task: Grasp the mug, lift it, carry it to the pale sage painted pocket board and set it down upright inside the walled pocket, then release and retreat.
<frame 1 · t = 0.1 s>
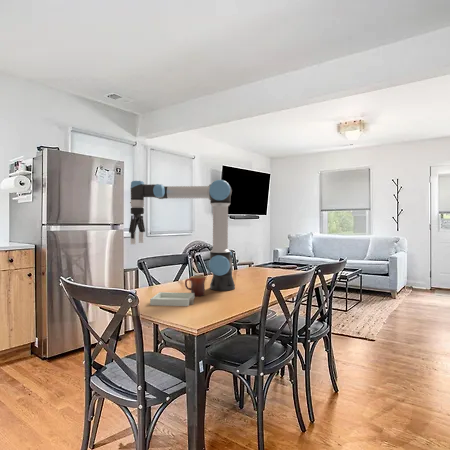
hand: (137, 243, 209), 28 cm above the table, fingers open, 13 cm apart
pocket board: (173, 301, 182), on the table
mug: (195, 295, 197), on the table
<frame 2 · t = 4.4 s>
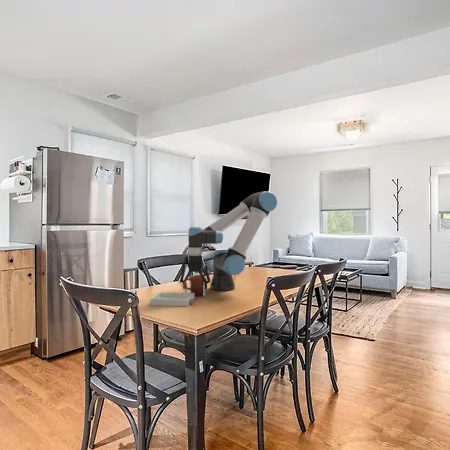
hand: (195, 295, 197), 0 cm above the table, fingers closed on mug, 9 cm apart
mug: (194, 295, 197), on the table, touching gripper
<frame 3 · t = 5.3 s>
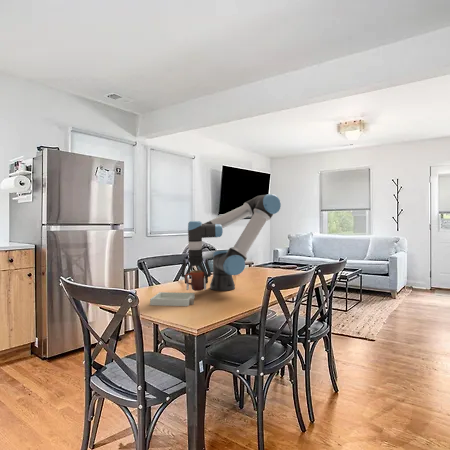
hand: (196, 289, 198), 3 cm above the table, fingers closed on mug, 9 cm apart
mug: (195, 290, 198), point 3 cm above the table, touching gripper
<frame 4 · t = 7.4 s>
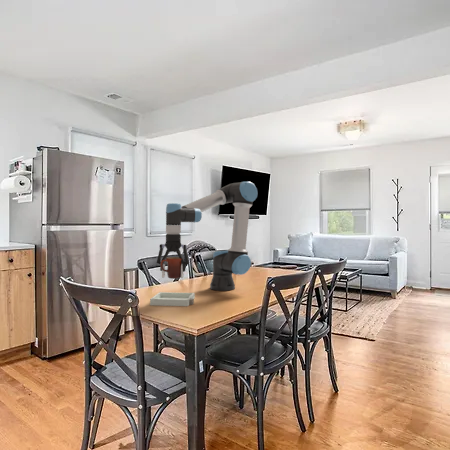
hand: (172, 277, 182), 12 cm above the table, fingers closed on mug, 9 cm apart
mug: (171, 278, 182), point 12 cm above the table, touching gripper
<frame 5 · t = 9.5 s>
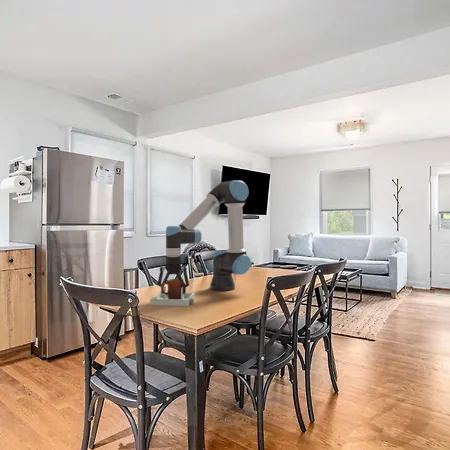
hand: (173, 300, 182), 1 cm above the table, fingers closed on mug, 9 cm apart
mug: (171, 300, 182), resting on pocket board, touching gripper
when the fingers open (1 cm above the table, at t = 9.8 s): mug stays where it is, resting on pocket board.
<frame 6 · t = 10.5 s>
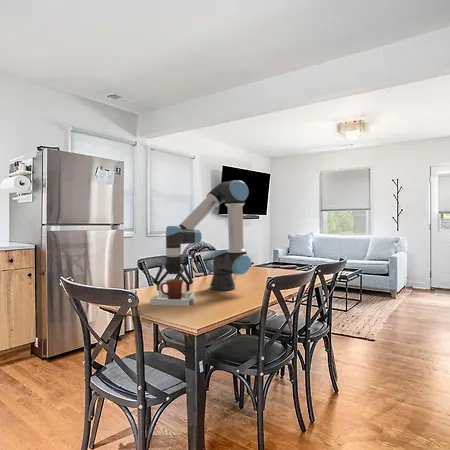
hand: (173, 297, 182), 2 cm above the table, fingers open, 13 cm apart
mug: (171, 301, 182), resting on pocket board
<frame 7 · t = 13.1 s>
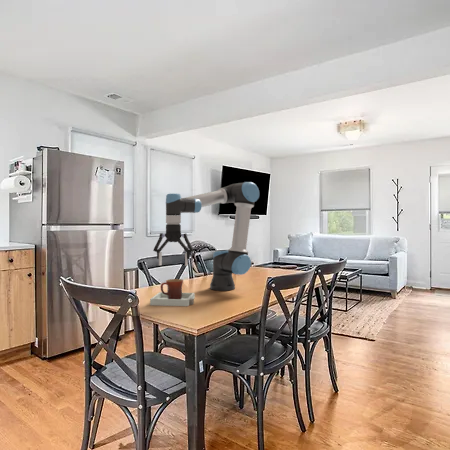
hand: (173, 265, 182), 19 cm above the table, fingers open, 13 cm apart
nothing on the table moved.
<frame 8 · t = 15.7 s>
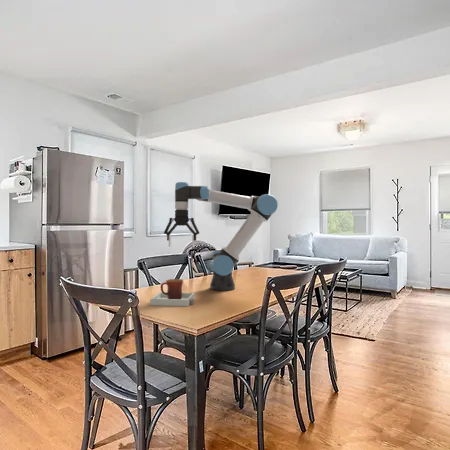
hand: (181, 246, 204), 27 cm above the table, fingers open, 13 cm apart
nothing on the table moved.
at the end: mug inside the target area on the pocket board (0.7 cm from its centre), point 0.4 cm above the pocket board's base; mug tilted 0°; the gripper is holding nothing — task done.
